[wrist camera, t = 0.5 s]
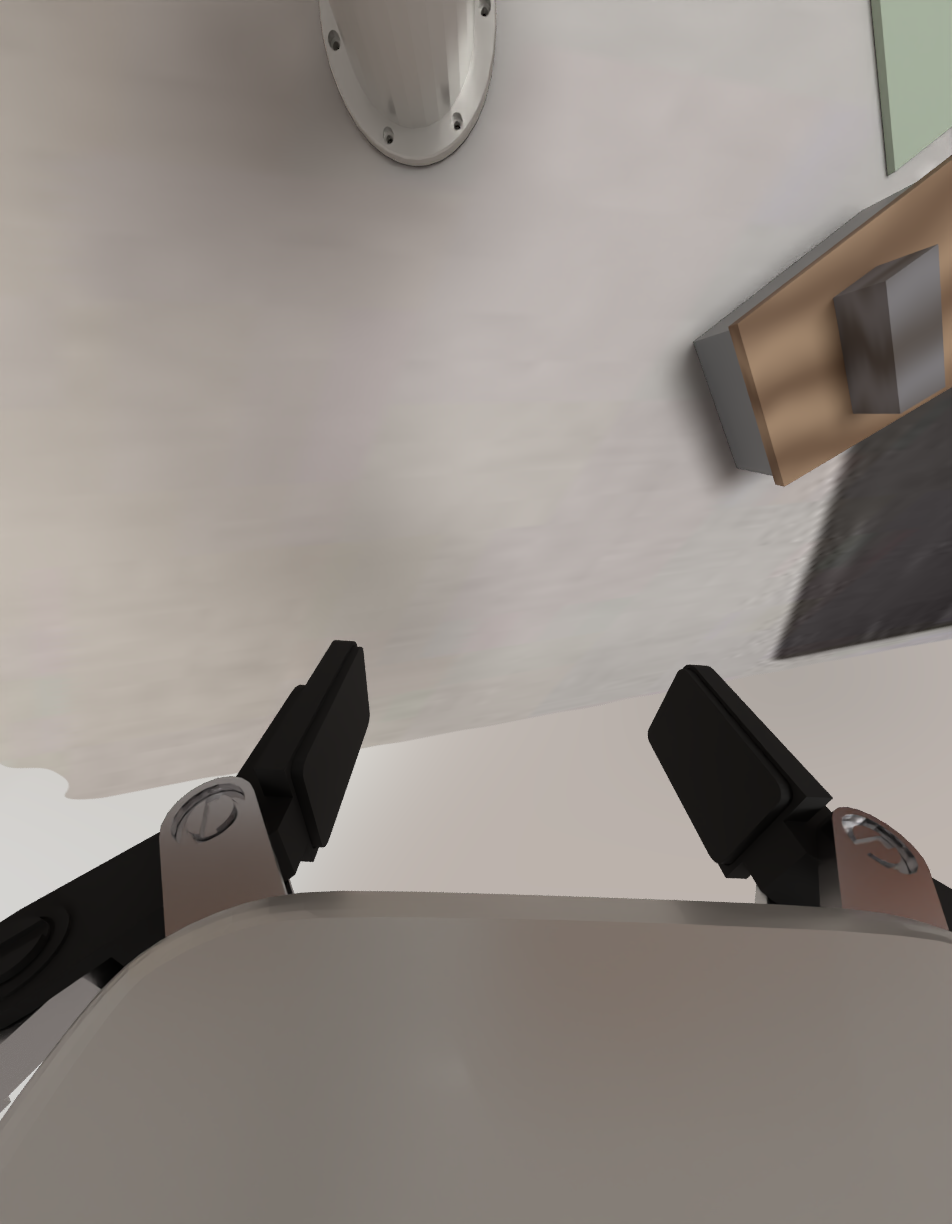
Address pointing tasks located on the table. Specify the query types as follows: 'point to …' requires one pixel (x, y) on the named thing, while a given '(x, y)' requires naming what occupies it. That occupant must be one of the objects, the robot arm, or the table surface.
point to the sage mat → (913, 74)
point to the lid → (854, 333)
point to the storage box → (725, 367)
